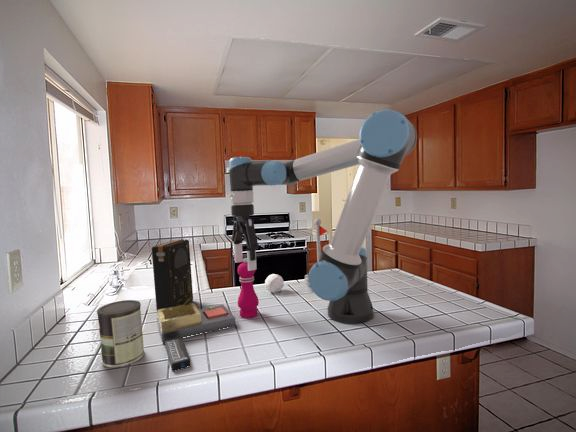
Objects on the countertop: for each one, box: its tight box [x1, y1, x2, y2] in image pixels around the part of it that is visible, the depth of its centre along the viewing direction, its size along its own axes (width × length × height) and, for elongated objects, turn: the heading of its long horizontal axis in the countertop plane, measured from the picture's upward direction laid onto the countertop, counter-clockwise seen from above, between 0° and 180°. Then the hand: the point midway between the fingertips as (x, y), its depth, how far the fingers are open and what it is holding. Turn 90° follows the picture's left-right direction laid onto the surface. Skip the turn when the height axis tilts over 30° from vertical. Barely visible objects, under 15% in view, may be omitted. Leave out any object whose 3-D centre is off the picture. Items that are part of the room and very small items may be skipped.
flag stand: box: [304, 217, 328, 293], centre depth 140 cm, size 13×13×30 cm
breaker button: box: [204, 307, 227, 319], centre depth 110 cm, size 6×6×3 cm
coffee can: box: [96, 299, 145, 368], centre depth 88 cm, size 10×10×14 cm
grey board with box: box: [156, 302, 236, 343], centre depth 107 cm, size 14×22×6 cm, turn 117°
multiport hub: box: [164, 338, 192, 372], centre depth 88 cm, size 4×14×2 cm, turn 26°
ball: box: [264, 273, 285, 294], centre depth 139 cm, size 8×8×8 cm
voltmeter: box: [151, 238, 194, 313], centre depth 125 cm, size 16×9×25 cm, turn 168°
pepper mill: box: [236, 257, 259, 319], centre depth 114 cm, size 7×7×20 cm
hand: (245, 265), depth 114 cm, fingers open, 13 cm apart
